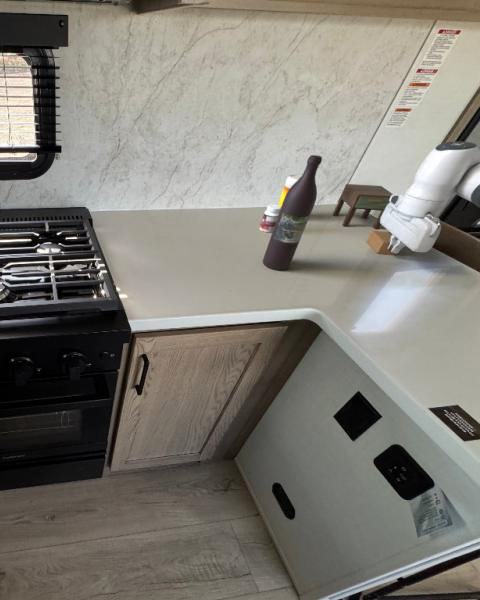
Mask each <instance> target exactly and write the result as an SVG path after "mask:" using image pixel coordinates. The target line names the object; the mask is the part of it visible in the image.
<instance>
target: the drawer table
mask: <svg viewBox="0 0 480 600" xmlns="http://www.w3.org/2000/svg"><path fill="white" fill-rule="evenodd" d="M393 194H394V193H392V192H391V191H389V190H388V189H387V188H385V187H383V185H371V184H353V183H346V184H345V186H344V189H343V190H342V192H341V194H340V197H339V199H338V201H337V203H336V206H335V208H334V211H333V213H332V216H333V217H339V215H340V213H341V211H342V208H343V206H344V204H346V205H348V207H349V209H348V212H347V214H346V216H345V218H344V220H343V221H342V224H341V226H343V227H346V228H348V227H349V226H350V223H351V221H352V220H353V218H354V215H355V213H356V211H357V210H363V212H362V214H361V218H362V219H368V217H369V215H370V214H371V211H380V213H379V214H378V217H377V218H376V221H374V224H373V226H372V228H373V229H374V230H380V228H381V226H382V225H381V224H380V218H381V216H382V214H383V212H384V210H385V208H386V206H387V205H388V204H389V203H390V201H389V199H390V197H391V196H392V195H393Z"/></svg>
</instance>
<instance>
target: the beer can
mask: <svg viewBox="0 0 480 600" xmlns="http://www.w3.org/2000/svg"><path fill="white" fill-rule="evenodd" d="M302 175H303V174H290V175H289V176H288V177H287V178H286V180H285V183H284V186H283V189H282V192H281V194H280V198H279V200H278V204H277V205H278V206H280V207H282V204H283V201H284V198H285V196H286V194H287V192H288V191H289V189H290V188H291V187H292V186H293V185H294V184H295V183H296V182H297V181H298V180H299V179H300V177H301V176H302Z"/></svg>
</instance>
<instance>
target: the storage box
mask: <svg viewBox="0 0 480 600" xmlns="http://www.w3.org/2000/svg"><path fill="white" fill-rule="evenodd" d="M391 236H392V233H391V232H390V231H379V230H371V232H370V233H369V236H368V238H367V239H366V242H365V243H367V245H368V246H369V247H370V248H371V249H372V250H373V251H374V252H375V253H376V254H378V255H388V256H389V255H390V256H397V254H398V253H392V252H391V251H390V250H389V249H388V246H389V245H390V239H391Z"/></svg>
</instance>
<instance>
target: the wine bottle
mask: <svg viewBox="0 0 480 600" xmlns="http://www.w3.org/2000/svg"><path fill="white" fill-rule="evenodd" d="M322 161H323V157H322V156H321V155H316V154H313V155H312V154H311V155H309V157H308V159H307V161H306V167H305V168H304V171H303V173H302V174H301V175H302V176H301V177H300V179H299V180H298V181H297V182H296V183H295V184H294V185H293V186H292V187H291V188H290V189H289V191H288V192H287V194H286V196H285V198H284V201H283V204H282V207H281V209H280V212H279V215H278V218H277V221H276V224H275V227H274V230H273V232H271V236H270V239H269V241H268V244H267V247H266V249H265V253H264V254H263V259H262V264H263V265H264V266H265V267H266V268H268V269H271V270H274V271H287V270H288V269H289V268H290V266H291V263H292V261H293V258H294V256H295V255H296V252H297V249H298V246H299V244H300V242H301V239H302V236H303V234H304V232H305V229H306V226H307V224H308V222H309V219H310V217H311V215H312V212H313V210H314V207H315V204H316V202H317V196H318V188H317V183H316V175H317V171H318V168H319V166H320V165H321V164H322Z"/></svg>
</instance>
